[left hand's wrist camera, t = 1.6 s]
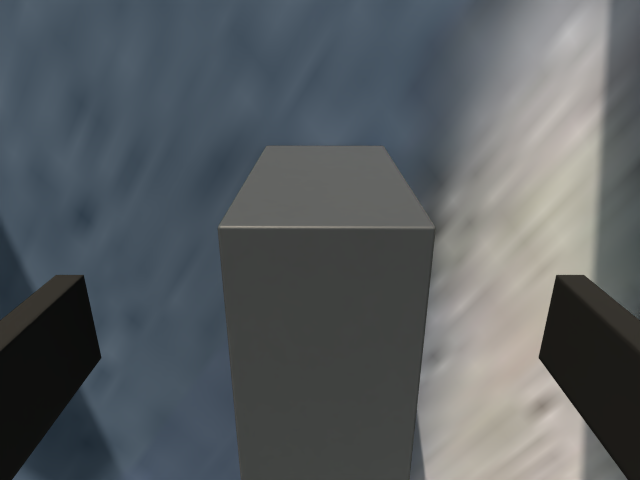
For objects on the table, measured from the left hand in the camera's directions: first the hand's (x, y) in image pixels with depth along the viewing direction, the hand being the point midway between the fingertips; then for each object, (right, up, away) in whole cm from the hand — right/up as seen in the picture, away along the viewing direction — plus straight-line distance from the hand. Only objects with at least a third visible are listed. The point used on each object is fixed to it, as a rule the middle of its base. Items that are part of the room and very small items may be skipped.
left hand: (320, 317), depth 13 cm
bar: (0, -4, +9) cm, 10 cm away
